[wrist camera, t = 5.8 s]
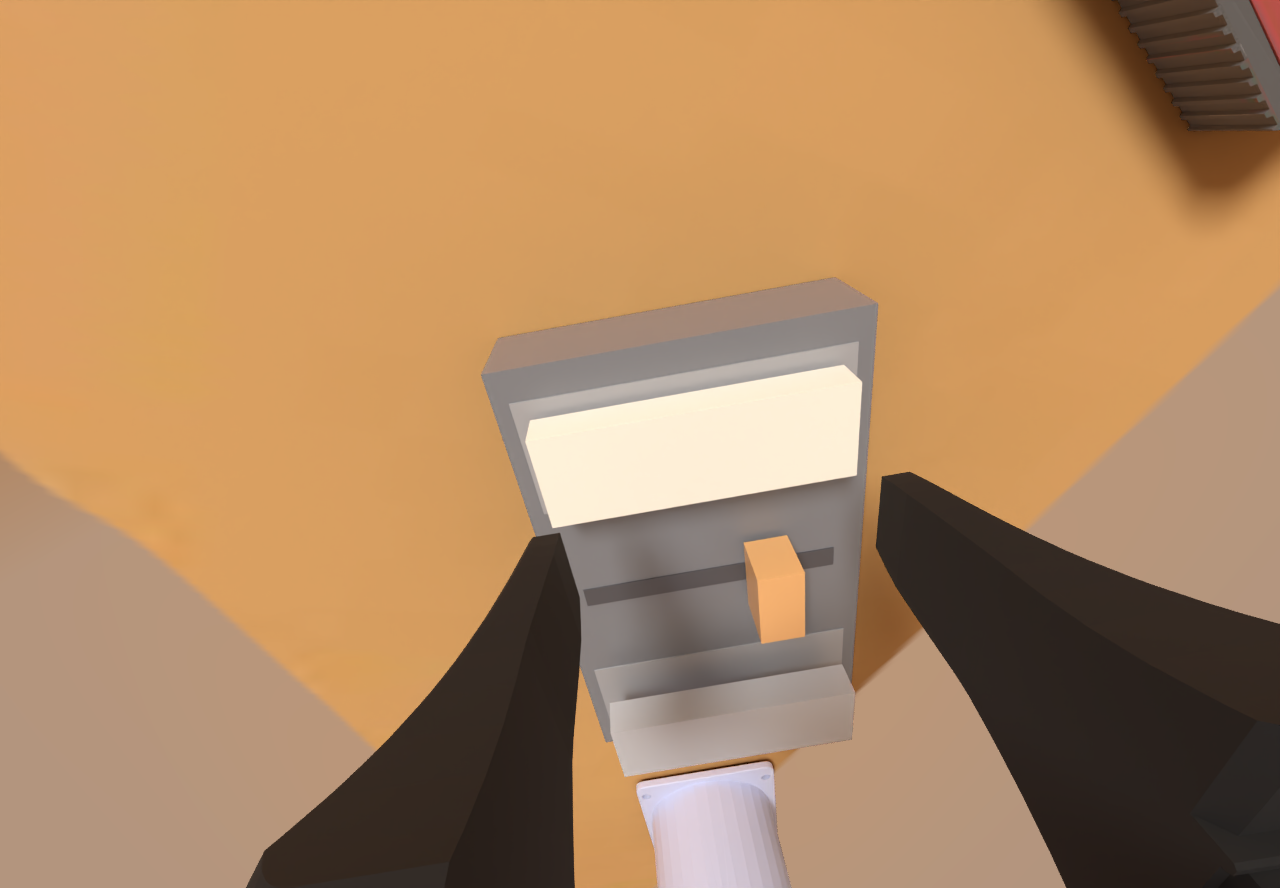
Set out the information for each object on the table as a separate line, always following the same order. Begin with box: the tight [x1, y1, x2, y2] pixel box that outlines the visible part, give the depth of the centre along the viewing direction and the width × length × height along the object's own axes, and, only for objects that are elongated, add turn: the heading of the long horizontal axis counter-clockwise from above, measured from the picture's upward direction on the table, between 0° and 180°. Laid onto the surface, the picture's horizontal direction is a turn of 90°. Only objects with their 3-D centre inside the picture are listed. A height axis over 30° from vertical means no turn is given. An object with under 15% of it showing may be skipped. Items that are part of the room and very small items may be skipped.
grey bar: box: [610, 664, 855, 777], centre depth 21 cm, size 3×9×1 cm, turn 99°
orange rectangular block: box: [744, 535, 805, 644], centre depth 18 cm, size 3×2×2 cm, turn 9°
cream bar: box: [525, 365, 862, 528], centre depth 15 cm, size 3×9×1 cm, turn 99°
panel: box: [481, 277, 878, 742], centre depth 20 cm, size 18×11×3 cm, turn 9°
